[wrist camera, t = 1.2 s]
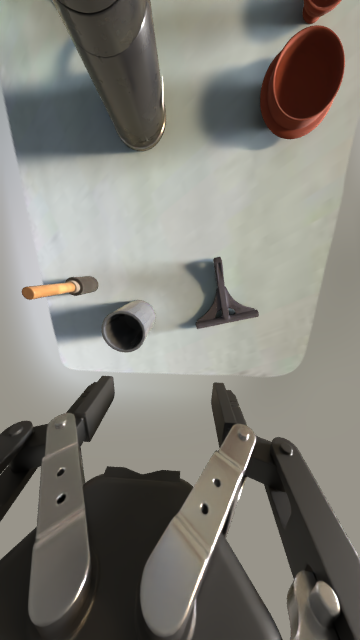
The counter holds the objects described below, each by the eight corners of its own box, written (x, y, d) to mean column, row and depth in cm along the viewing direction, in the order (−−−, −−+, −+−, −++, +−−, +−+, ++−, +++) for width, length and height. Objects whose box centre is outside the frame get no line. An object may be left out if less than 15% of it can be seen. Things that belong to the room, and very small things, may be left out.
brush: (79, 281, 38) (9, 288, 23) (92, 273, 38) (28, 275, 23) (89, 294, 39) (27, 310, 24) (101, 287, 39) (45, 298, 23)
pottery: (248, 142, 30) (258, 122, 26) (281, -29, 24) (300, -91, 20) (311, 151, 30) (332, 131, 26) (359, -18, 24) (396, -79, 20)
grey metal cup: (117, 309, 40) (92, 323, 30) (144, 294, 39) (129, 302, 28) (134, 336, 42) (117, 358, 32) (161, 322, 41) (153, 340, 30)
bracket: (249, 249, 35) (254, 248, 33) (256, 315, 39) (261, 318, 37) (183, 265, 37) (183, 265, 34) (196, 327, 41) (197, 331, 38)
